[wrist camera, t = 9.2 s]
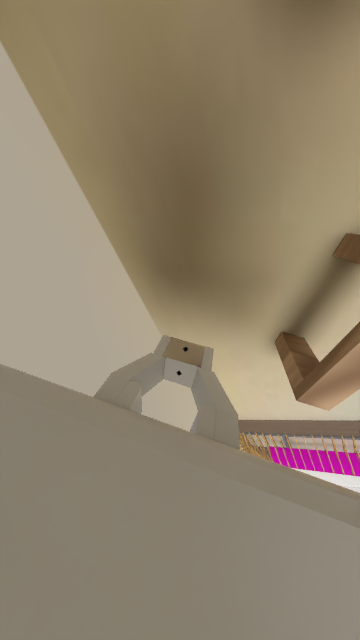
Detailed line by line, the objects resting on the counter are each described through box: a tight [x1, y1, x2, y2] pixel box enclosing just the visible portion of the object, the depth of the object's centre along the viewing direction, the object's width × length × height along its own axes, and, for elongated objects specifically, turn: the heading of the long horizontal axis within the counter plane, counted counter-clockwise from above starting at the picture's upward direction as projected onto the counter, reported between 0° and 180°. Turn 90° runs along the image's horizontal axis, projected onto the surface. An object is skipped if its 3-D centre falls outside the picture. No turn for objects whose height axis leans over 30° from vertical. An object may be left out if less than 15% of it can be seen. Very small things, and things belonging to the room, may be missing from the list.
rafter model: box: [238, 420, 360, 476], centre depth 30 cm, size 35×14×6 cm, turn 119°
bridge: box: [275, 234, 360, 411], centre depth 15 cm, size 3×14×9 cm, turn 172°
